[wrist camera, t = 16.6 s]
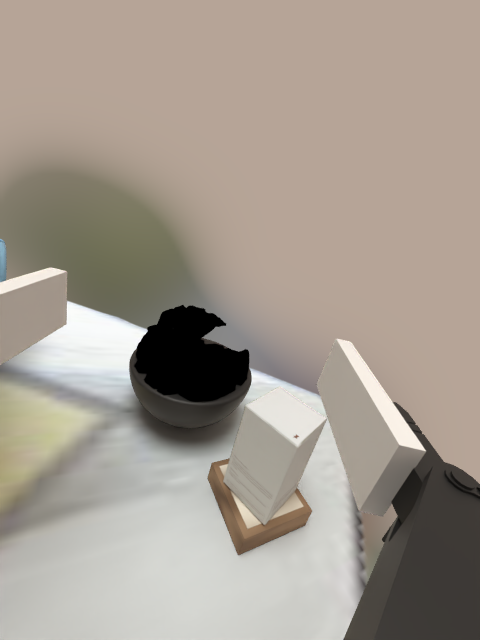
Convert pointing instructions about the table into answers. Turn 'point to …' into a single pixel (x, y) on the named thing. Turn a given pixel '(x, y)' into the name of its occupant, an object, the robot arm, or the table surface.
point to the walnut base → (244, 523)
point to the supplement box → (272, 451)
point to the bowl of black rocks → (188, 370)
